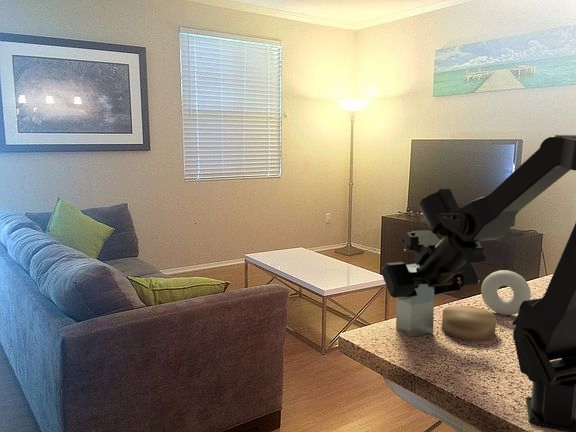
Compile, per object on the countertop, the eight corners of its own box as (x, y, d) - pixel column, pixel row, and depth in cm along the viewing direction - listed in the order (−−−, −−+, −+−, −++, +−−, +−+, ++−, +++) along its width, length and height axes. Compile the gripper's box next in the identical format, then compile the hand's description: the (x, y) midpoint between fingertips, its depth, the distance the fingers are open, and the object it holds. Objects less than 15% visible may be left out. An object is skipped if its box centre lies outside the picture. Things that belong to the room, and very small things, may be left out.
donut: (529, 316, 103) (533, 271, 102) (528, 321, 100) (532, 275, 99) (480, 308, 108) (483, 265, 107) (478, 312, 105) (481, 269, 104)
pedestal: (495, 344, 89) (496, 326, 88) (439, 336, 93) (440, 318, 92) (494, 325, 98) (495, 309, 97) (443, 318, 102) (444, 303, 101)
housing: (433, 333, 94) (434, 269, 92) (410, 337, 92) (411, 272, 90) (417, 323, 99) (419, 263, 97) (396, 327, 97) (397, 266, 95)
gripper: (472, 216, 91) (434, 258, 103) (387, 221, 85) (357, 266, 97) (500, 265, 85) (456, 304, 97) (411, 275, 79) (376, 315, 91)
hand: (411, 296), depth 96 cm, fingers closed on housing, 6 cm apart
